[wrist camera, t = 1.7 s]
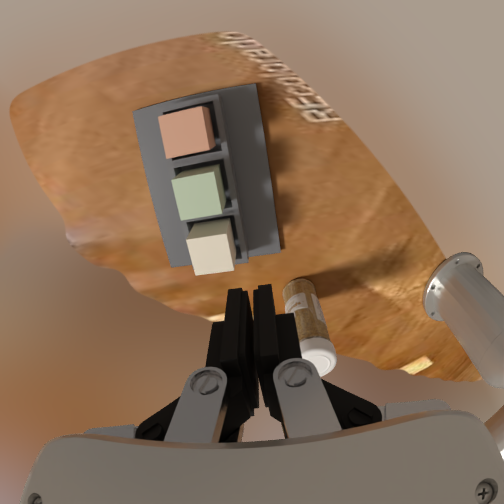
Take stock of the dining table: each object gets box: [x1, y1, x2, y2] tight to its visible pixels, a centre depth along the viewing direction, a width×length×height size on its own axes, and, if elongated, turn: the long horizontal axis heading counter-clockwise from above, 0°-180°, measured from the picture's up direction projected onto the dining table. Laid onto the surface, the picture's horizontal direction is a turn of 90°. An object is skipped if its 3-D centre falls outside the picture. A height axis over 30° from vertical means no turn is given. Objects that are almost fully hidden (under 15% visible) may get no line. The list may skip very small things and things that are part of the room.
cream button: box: [186, 218, 236, 275], centre depth 31 cm, size 4×4×4 cm
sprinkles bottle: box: [283, 279, 337, 377], centre depth 33 cm, size 5×5×14 cm
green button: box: [171, 164, 226, 221], centre depth 28 cm, size 4×4×4 cm
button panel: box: [133, 84, 281, 270], centre depth 31 cm, size 14×20×4 cm
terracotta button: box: [158, 106, 216, 159], centre depth 25 cm, size 4×4×4 cm
